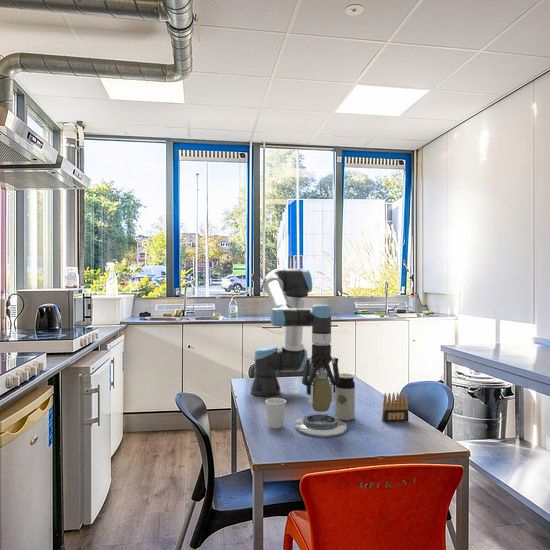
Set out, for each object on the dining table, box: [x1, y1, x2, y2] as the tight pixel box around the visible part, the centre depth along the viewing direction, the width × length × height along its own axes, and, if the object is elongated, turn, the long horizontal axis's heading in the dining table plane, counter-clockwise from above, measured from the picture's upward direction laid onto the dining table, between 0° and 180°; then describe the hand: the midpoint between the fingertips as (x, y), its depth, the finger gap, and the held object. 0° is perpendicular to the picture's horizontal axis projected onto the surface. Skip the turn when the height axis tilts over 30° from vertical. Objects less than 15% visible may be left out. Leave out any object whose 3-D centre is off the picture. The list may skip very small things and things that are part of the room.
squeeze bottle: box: [311, 368, 332, 413], centre depth 172 cm, size 8×8×18 cm
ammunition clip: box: [381, 392, 410, 423], centre depth 181 cm, size 11×2×12 cm, turn 97°
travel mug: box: [335, 372, 356, 421], centre depth 185 cm, size 8×8×18 cm
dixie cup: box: [265, 397, 287, 429], centre depth 174 cm, size 8×8×10 cm
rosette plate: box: [294, 413, 347, 438], centre depth 172 cm, size 20×20×4 cm
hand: (320, 401), depth 172 cm, fingers closed on squeeze bottle, 8 cm apart
